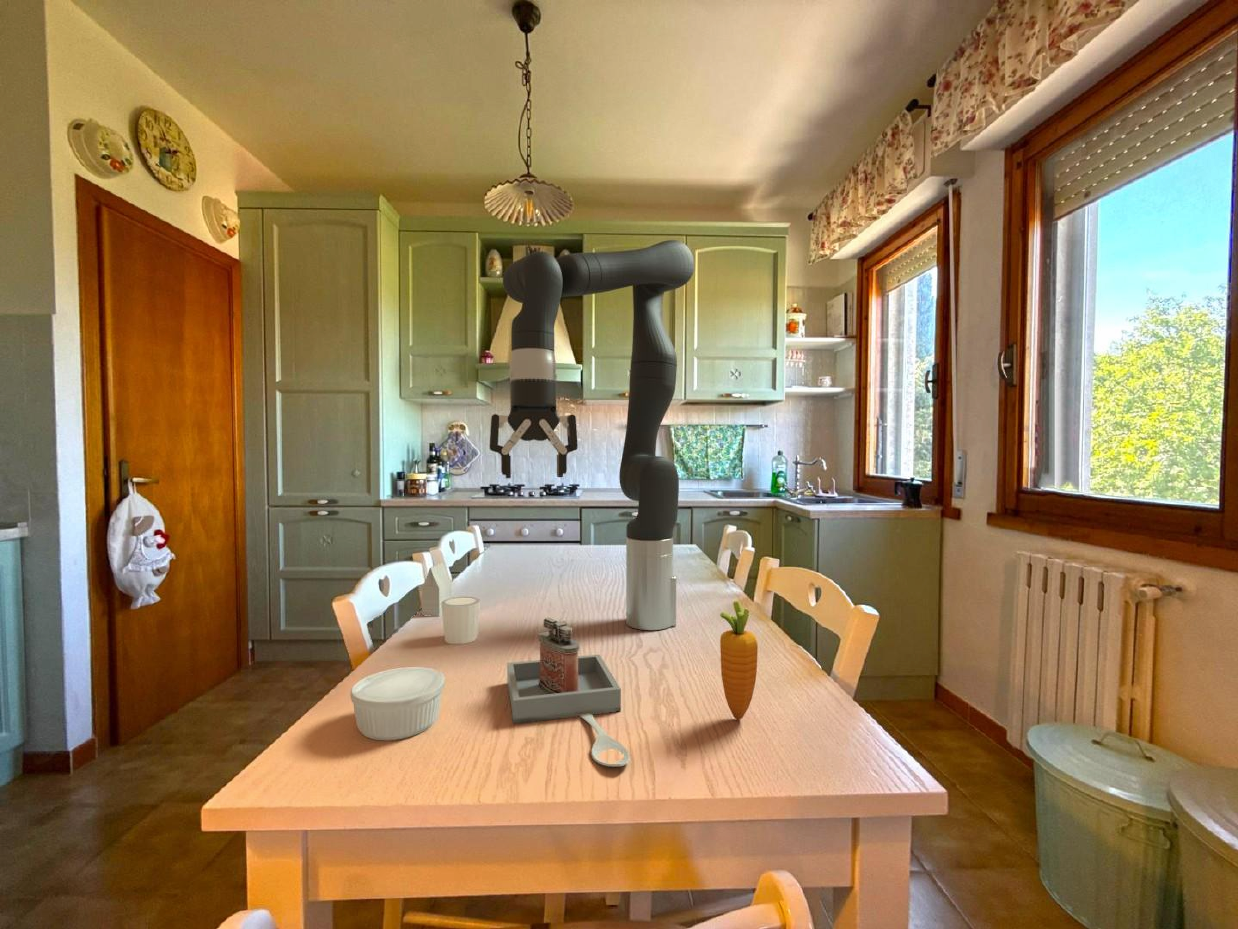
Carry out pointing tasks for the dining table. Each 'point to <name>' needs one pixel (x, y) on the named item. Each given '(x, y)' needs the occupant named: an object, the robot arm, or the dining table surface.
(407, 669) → the ramekin
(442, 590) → the white milk carton
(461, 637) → the cream cup
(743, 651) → the carrot
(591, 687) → the tray
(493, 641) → the dining table surface
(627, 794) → the dining table surface
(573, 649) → the lighter
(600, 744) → the spoon
